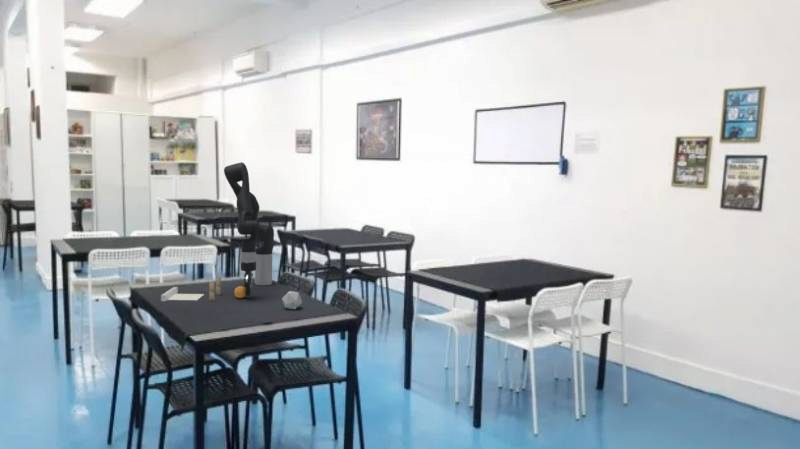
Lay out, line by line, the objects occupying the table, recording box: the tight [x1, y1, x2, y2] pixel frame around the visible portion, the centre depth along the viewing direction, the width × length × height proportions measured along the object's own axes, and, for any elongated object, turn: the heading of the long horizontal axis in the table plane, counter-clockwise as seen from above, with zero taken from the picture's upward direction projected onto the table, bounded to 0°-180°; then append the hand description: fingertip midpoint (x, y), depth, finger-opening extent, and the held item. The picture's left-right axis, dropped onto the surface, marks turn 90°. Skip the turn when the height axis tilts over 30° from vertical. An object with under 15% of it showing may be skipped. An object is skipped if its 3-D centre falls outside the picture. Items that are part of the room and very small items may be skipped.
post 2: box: [215, 276, 222, 296], centre depth 304 cm, size 2×2×9 cm
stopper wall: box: [160, 286, 179, 302], centre depth 296 cm, size 20×2×3 cm, turn 4°
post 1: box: [208, 281, 216, 302], centre depth 291 cm, size 2×2×9 cm
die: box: [281, 290, 303, 311], centre depth 280 cm, size 8×9×10 cm
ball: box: [233, 285, 246, 299], centre depth 299 cm, size 6×6×6 cm
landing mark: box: [167, 293, 205, 301], centre depth 297 cm, size 14×14×1 cm
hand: (248, 295), depth 298 cm, fingers closed
